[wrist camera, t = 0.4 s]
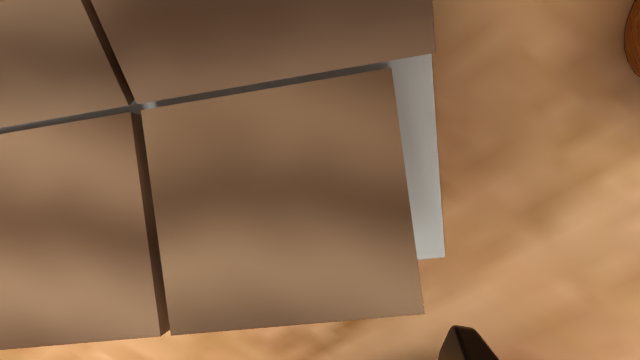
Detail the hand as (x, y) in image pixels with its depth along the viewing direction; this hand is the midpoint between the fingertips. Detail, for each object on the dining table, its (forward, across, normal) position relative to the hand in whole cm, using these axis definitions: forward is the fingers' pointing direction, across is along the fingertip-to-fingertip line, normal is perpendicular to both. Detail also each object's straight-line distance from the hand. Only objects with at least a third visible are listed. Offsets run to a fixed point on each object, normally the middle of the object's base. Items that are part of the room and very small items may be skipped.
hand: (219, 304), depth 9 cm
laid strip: (+14, +8, 0) cm, 16 cm away
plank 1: (+10, +10, +9) cm, 17 cm away
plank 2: (+10, 0, +5) cm, 12 cm away
